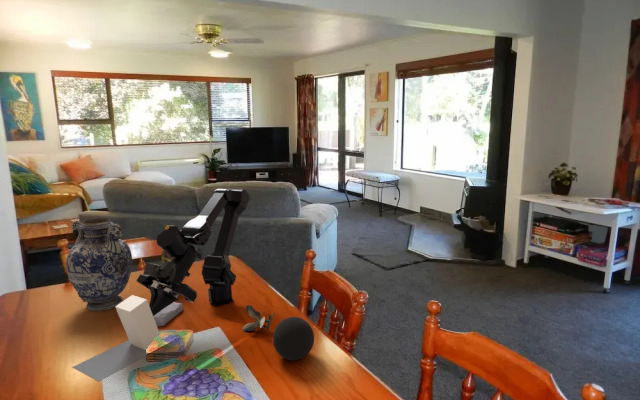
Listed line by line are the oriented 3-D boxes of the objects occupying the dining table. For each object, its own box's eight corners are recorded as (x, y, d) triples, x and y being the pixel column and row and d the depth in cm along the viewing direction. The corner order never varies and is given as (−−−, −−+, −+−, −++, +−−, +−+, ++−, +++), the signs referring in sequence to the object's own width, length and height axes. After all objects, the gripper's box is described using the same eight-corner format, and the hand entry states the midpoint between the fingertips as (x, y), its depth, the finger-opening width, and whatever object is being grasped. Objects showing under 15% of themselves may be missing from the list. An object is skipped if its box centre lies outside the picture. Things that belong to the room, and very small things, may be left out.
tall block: (147, 331, 111) (133, 294, 107) (161, 336, 108) (147, 299, 103) (130, 344, 107) (115, 306, 103) (145, 350, 104) (129, 311, 99)
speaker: (318, 348, 105) (317, 311, 103) (308, 371, 95) (307, 330, 93) (281, 344, 107) (279, 308, 105) (267, 366, 97) (266, 326, 95)
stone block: (135, 333, 118) (165, 329, 116) (130, 317, 118) (161, 313, 116) (158, 316, 130) (186, 312, 128) (154, 302, 130) (183, 297, 127)
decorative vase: (54, 310, 130) (44, 224, 125) (104, 290, 147) (97, 213, 142) (104, 321, 122) (95, 229, 117) (151, 298, 139) (144, 217, 134)
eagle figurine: (276, 319, 119) (246, 311, 120) (274, 305, 114) (244, 298, 115) (267, 343, 114) (236, 335, 115) (265, 330, 108) (233, 322, 110)
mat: (153, 330, 116) (153, 328, 115) (179, 340, 110) (179, 338, 110) (72, 370, 97) (72, 367, 97) (99, 384, 91) (98, 381, 91)
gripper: (139, 245, 114) (105, 296, 107) (185, 254, 104) (150, 311, 97) (165, 264, 122) (135, 313, 115) (210, 275, 112) (180, 329, 105)
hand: (148, 316), depth 107 cm, fingers closed
